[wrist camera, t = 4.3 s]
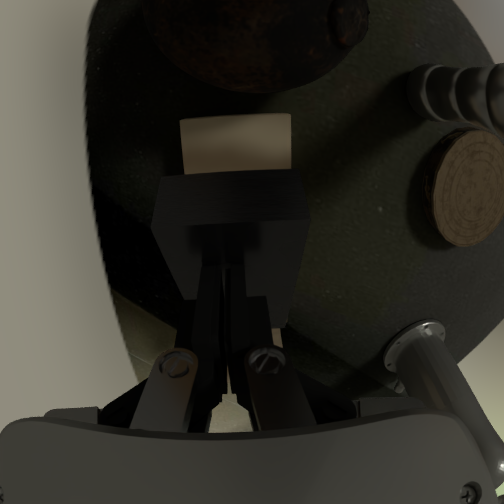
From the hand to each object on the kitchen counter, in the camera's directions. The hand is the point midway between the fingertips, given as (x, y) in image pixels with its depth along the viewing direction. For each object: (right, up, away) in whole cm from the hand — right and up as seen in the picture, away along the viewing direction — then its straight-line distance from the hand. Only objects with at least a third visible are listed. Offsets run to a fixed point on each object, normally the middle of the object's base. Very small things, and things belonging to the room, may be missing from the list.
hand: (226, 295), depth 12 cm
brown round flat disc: (+30, +11, +20) cm, 37 cm away
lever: (0, -1, +9) cm, 9 cm away
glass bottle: (+1, +25, +10) cm, 27 cm away
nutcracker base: (0, +5, +21) cm, 22 cm away
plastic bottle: (+20, +20, +14) cm, 32 cm away
